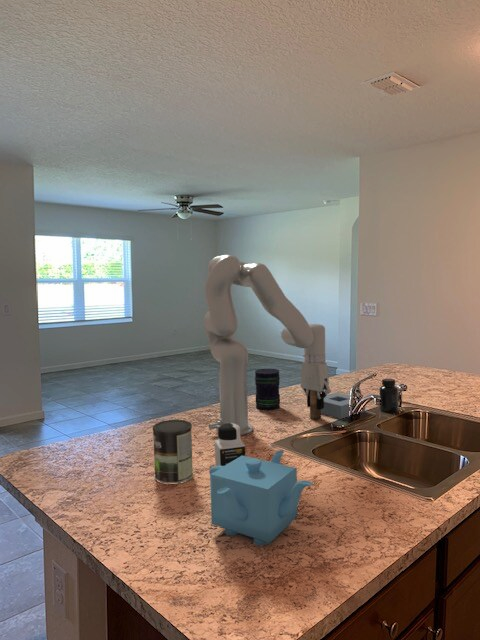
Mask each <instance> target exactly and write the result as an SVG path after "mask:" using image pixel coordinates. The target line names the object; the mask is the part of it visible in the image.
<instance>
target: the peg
mask: <svg viewBox="0 0 480 640" xmlns="http://www.w3.org/2000/svg"><path fill="white" fill-rule="evenodd" d="M317 399H318V395H317V391H313V390H310V407H309V419H310V420H312V421H320V420H322V414H321V409H320V410H317Z"/></svg>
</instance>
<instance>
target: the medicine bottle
mask: <svg viewBox="0 0 480 640" xmlns="http://www.w3.org/2000/svg"><path fill="white" fill-rule="evenodd" d="M217 434H218V439H215V440H214V461H215V462H214V463H215V466H225V465H227V464H228V463H230V462H232V461H233V460H235V459H237V458H239V457H240V456H246V445H245V443H244V442H243V441H242V440H241V435H240V427H239V426H238V425H237V424H233V423H226V424H223V425H220V426H219V427H218V432H217Z"/></svg>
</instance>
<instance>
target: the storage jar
mask: <svg viewBox="0 0 480 640" xmlns="http://www.w3.org/2000/svg"><path fill="white" fill-rule="evenodd" d="M254 373H255V374H254V375H255V376H254V381H255V382H254V383H255V405H256V406H255V409H257V410H258V411H260V412H261V411H262V412H272V411H277V410H279V409H281V405H280V404H281V403H280V402H281V398H280V395H281V394H280V370H279V369H276V368H260V369H255V370H254Z"/></svg>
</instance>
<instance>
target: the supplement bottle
mask: <svg viewBox="0 0 480 640" xmlns="http://www.w3.org/2000/svg"><path fill="white" fill-rule="evenodd" d="M381 384H382V385H381V386H380V387H379V399H380V398H381V405H380V404H379V410H380V411H381V412H383V413H397V412H398V411H399V388H398V387H397V386H396V380H395V378H383V379H381Z"/></svg>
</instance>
